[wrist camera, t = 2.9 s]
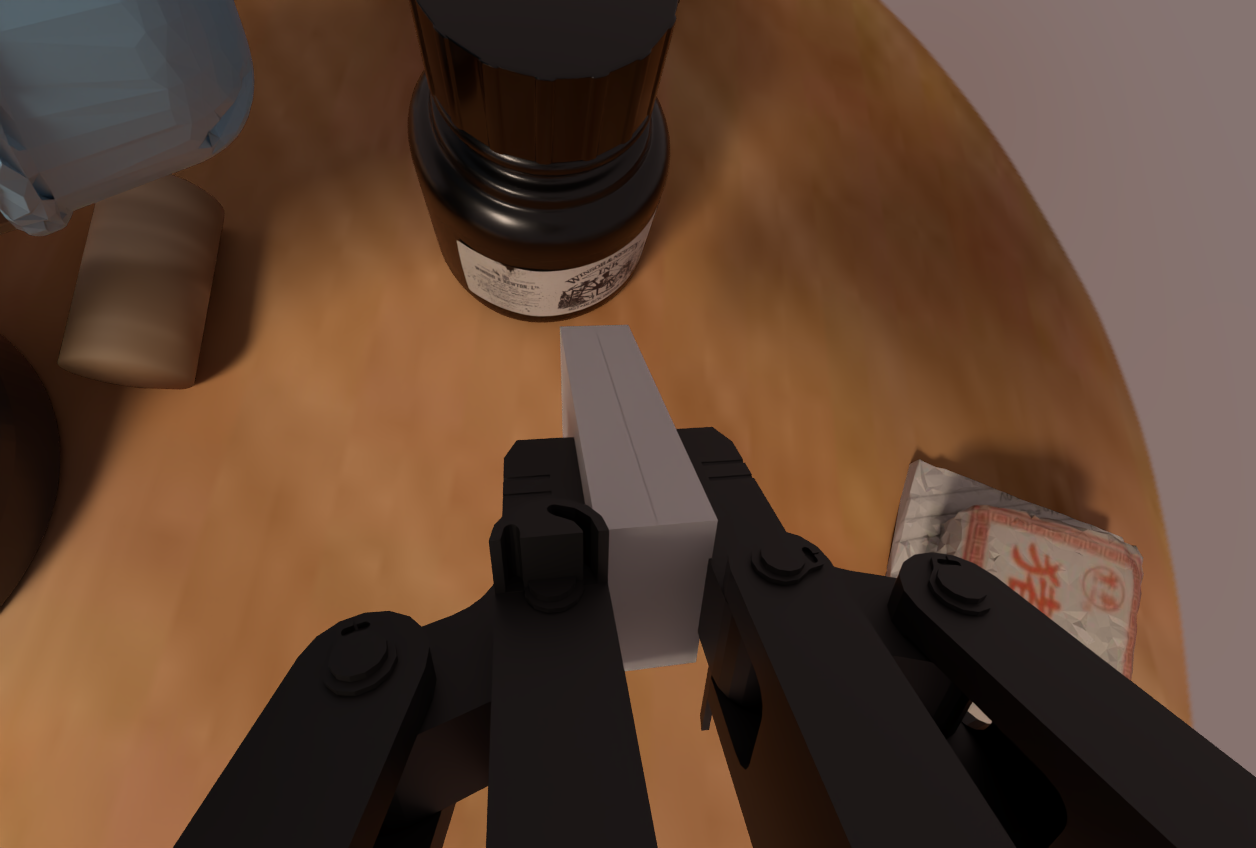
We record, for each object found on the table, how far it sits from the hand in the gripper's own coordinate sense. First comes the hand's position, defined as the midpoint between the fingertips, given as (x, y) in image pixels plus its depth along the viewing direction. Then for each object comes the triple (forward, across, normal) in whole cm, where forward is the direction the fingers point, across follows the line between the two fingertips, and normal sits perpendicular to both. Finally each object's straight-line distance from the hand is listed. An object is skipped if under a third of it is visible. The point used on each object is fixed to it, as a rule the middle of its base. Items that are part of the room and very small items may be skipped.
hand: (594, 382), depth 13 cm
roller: (+13, -15, -2) cm, 20 cm away
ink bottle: (+15, -1, 0) cm, 15 cm away
